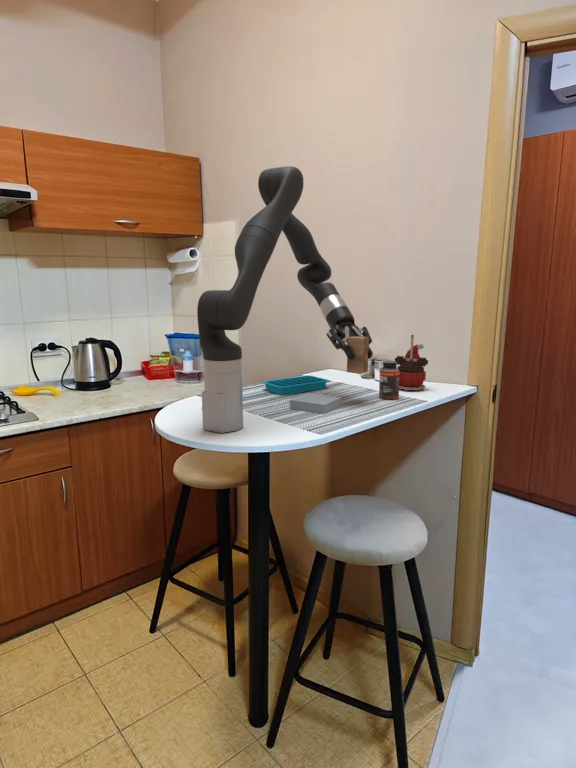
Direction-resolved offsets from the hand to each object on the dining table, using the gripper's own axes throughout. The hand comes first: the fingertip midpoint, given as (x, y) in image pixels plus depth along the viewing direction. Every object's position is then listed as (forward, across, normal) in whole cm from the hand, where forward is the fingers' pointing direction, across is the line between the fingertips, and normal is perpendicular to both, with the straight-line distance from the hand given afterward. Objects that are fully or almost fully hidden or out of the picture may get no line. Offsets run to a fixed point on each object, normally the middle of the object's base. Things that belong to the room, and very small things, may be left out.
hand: (361, 357), depth 147 cm
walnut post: (+2, 0, +4) cm, 5 cm away
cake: (+4, +28, +15) cm, 32 cm away
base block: (+7, -12, +14) cm, 19 cm away
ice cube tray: (-10, -3, +30) cm, 32 cm away
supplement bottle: (+8, +13, +11) cm, 19 cm away
